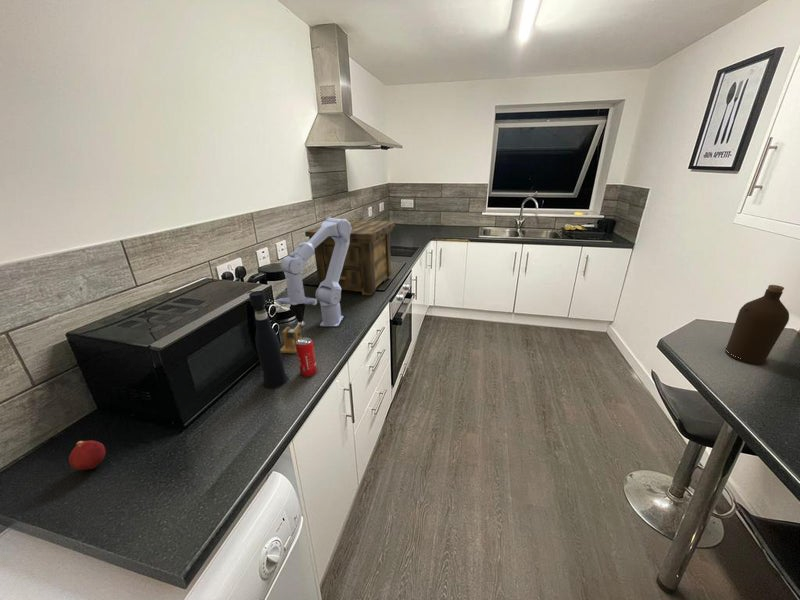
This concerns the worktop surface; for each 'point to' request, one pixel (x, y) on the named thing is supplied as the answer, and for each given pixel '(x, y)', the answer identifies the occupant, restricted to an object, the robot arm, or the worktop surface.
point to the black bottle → (267, 344)
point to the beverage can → (306, 356)
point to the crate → (359, 256)
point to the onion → (87, 455)
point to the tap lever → (300, 324)
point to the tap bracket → (290, 340)
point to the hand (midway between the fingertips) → (300, 320)
